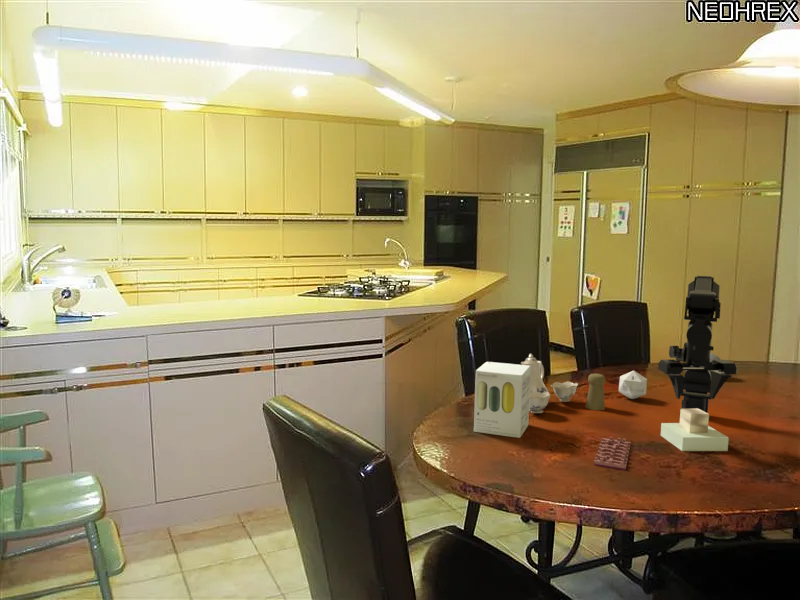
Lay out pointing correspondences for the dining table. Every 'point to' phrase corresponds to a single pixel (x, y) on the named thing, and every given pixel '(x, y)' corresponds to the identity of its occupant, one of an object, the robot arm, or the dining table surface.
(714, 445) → the sage block
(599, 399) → the cork
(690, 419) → the birch cube
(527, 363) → the chinaware
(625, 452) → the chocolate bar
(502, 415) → the supplement box
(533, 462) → the dining table surface
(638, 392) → the die
